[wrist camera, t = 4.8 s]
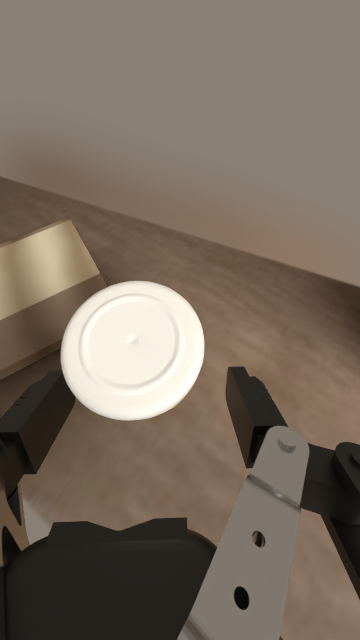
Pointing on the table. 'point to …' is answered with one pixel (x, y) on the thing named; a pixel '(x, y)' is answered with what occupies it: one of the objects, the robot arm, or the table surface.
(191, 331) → the sprinkles bottle
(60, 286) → the board
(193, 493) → the table surface
